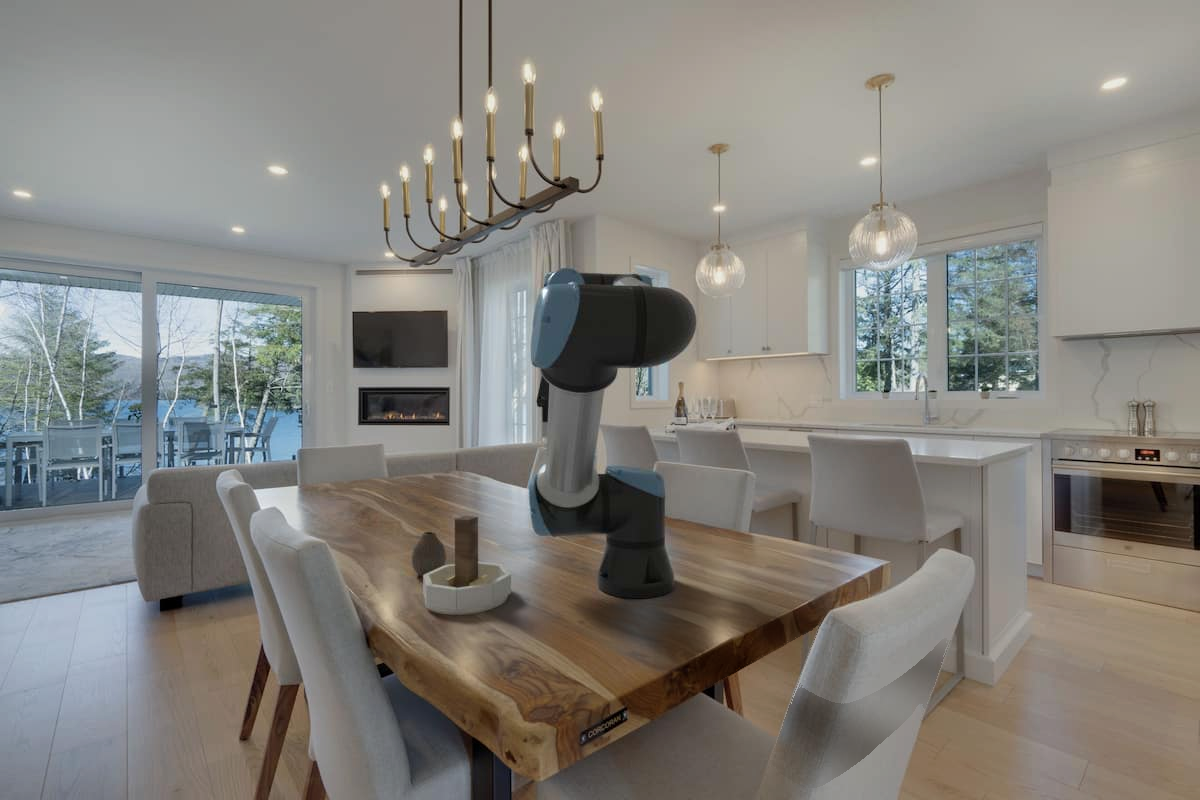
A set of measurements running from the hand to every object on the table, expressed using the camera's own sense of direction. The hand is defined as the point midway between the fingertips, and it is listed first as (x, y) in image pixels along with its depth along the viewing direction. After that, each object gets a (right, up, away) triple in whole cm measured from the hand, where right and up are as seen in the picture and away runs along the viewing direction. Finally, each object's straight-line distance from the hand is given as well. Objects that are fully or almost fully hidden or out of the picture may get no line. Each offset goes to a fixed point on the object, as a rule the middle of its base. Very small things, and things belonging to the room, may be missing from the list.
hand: (561, 435), depth 122 cm
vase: (-27, -29, -8) cm, 41 cm away
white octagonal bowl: (-16, -29, -23) cm, 40 cm away
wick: (-16, -28, -22) cm, 39 cm away
